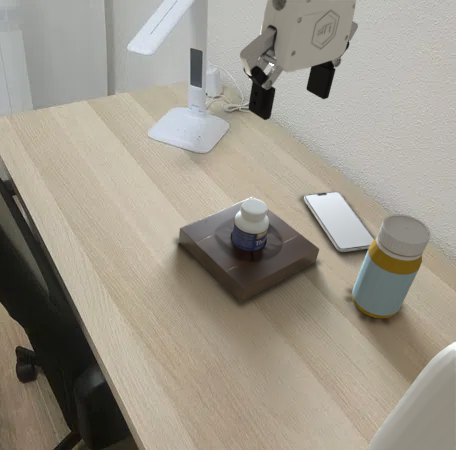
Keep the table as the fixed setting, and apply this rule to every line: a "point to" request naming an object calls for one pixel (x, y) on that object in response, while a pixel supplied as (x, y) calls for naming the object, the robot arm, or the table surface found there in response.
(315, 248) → the socket board
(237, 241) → the pill bottle
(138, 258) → the table surface
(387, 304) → the bottle
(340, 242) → the smartphone
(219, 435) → the table surface
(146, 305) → the table surface
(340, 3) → the robot arm
